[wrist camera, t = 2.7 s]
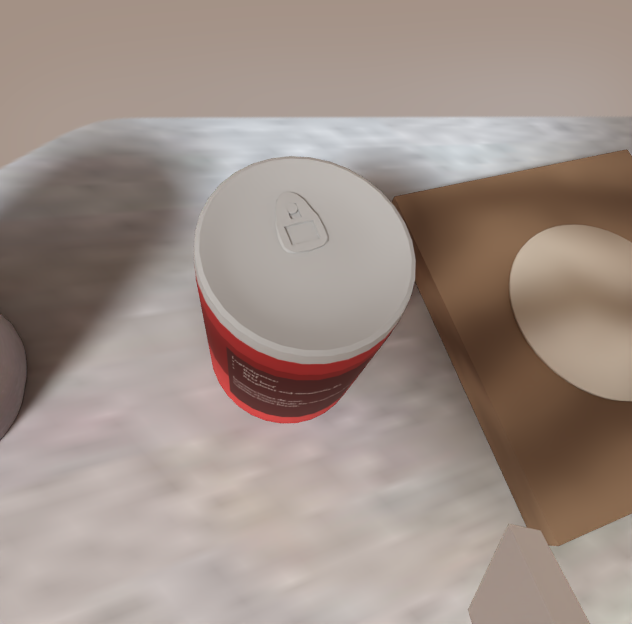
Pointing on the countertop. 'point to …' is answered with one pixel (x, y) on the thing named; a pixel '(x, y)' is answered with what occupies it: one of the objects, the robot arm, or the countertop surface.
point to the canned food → (298, 283)
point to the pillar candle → (10, 374)
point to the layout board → (540, 328)
